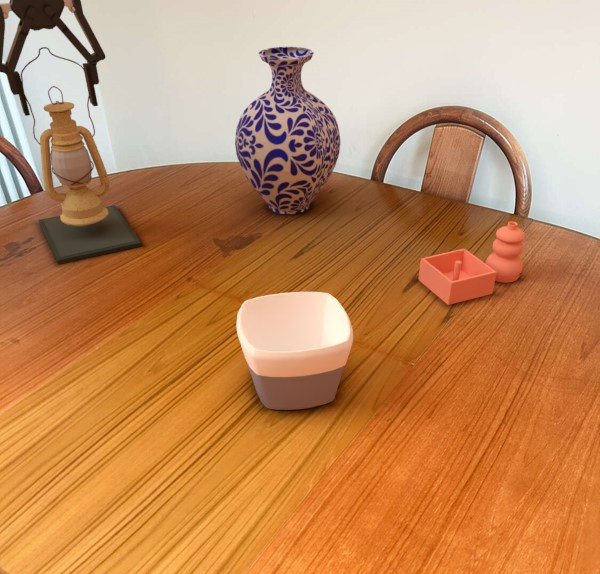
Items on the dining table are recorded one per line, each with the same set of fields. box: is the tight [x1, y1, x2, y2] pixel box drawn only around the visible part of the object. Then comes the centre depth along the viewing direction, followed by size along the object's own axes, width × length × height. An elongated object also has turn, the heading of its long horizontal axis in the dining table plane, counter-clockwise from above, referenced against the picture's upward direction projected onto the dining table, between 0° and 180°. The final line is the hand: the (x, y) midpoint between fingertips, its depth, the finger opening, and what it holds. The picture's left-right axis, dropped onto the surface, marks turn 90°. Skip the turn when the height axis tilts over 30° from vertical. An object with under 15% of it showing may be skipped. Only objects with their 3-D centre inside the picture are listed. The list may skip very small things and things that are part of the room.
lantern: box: [20, 46, 110, 226], centre depth 120 cm, size 12×10×30 cm
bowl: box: [235, 291, 354, 411], centre depth 90 cm, size 15×15×11 cm
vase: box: [234, 46, 341, 215], centre depth 133 cm, size 22×22×30 cm
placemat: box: [38, 204, 143, 265], centre depth 132 cm, size 16×20×1 cm
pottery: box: [417, 221, 526, 306], centre depth 114 cm, size 18×10×10 cm, turn 114°
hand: (60, 108), depth 117 cm, fingers closed on lantern, 11 cm apart
